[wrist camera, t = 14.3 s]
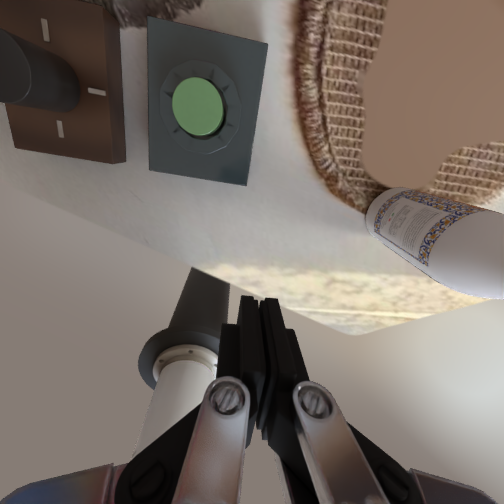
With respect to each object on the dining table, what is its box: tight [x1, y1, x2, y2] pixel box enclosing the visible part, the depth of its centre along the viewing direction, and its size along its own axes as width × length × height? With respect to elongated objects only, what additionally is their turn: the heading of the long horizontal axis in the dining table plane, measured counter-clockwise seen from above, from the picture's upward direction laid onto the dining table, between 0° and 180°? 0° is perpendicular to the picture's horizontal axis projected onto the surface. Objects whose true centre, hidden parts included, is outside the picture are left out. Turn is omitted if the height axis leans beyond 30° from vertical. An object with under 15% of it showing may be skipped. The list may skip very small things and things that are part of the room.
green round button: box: [172, 77, 224, 136], centre depth 20 cm, size 4×4×2 cm
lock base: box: [0, 0, 126, 164], centre depth 22 cm, size 12×9×3 cm
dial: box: [0, 28, 80, 112], centre depth 18 cm, size 4×4×6 cm
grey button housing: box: [147, 16, 268, 186], centre depth 23 cm, size 12×10×5 cm
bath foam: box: [366, 187, 504, 299], centre depth 21 cm, size 7×7×20 cm
